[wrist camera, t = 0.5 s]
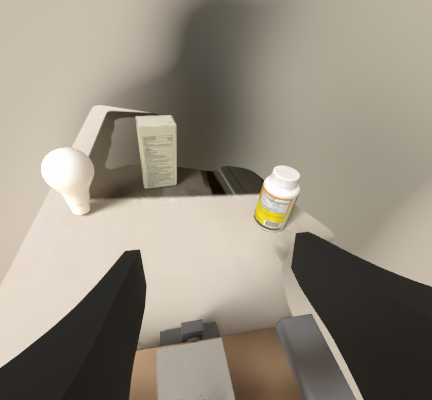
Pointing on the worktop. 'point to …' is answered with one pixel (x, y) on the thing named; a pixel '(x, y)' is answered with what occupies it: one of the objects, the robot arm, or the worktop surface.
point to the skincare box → (157, 150)
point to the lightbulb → (70, 176)
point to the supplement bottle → (277, 199)
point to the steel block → (193, 372)
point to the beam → (265, 365)
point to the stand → (189, 332)
